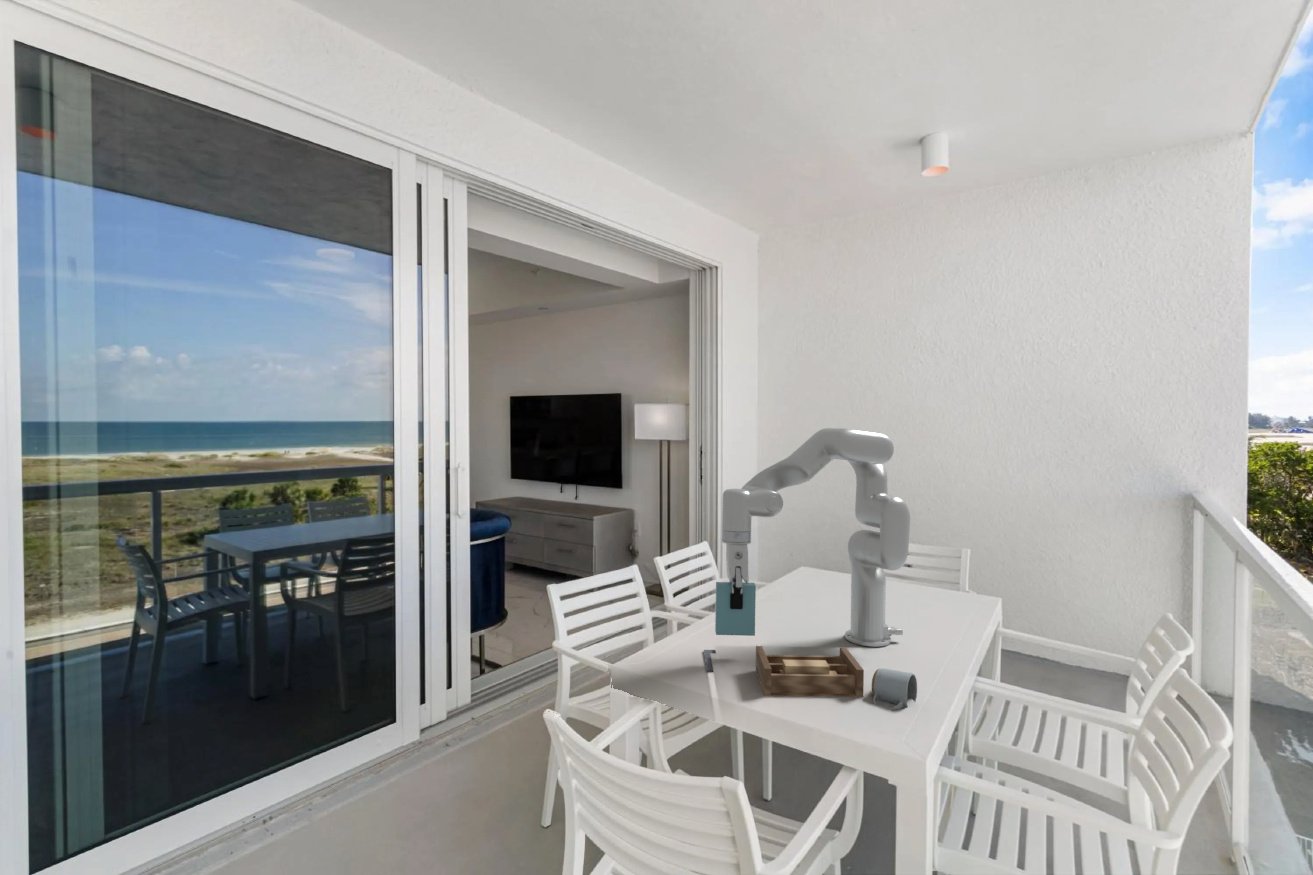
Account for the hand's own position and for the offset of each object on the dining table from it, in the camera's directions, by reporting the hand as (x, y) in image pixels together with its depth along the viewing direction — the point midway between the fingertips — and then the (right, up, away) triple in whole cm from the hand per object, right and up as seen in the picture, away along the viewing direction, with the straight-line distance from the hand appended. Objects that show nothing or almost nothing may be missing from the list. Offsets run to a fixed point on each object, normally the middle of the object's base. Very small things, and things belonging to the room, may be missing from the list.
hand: (735, 605), depth 161 cm
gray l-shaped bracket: (0, -15, 0) cm, 15 cm away
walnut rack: (+15, -15, -16) cm, 27 cm away
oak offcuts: (+15, -14, -18) cm, 27 cm away
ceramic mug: (+32, -16, -25) cm, 43 cm away
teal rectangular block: (0, -7, 0) cm, 7 cm away
